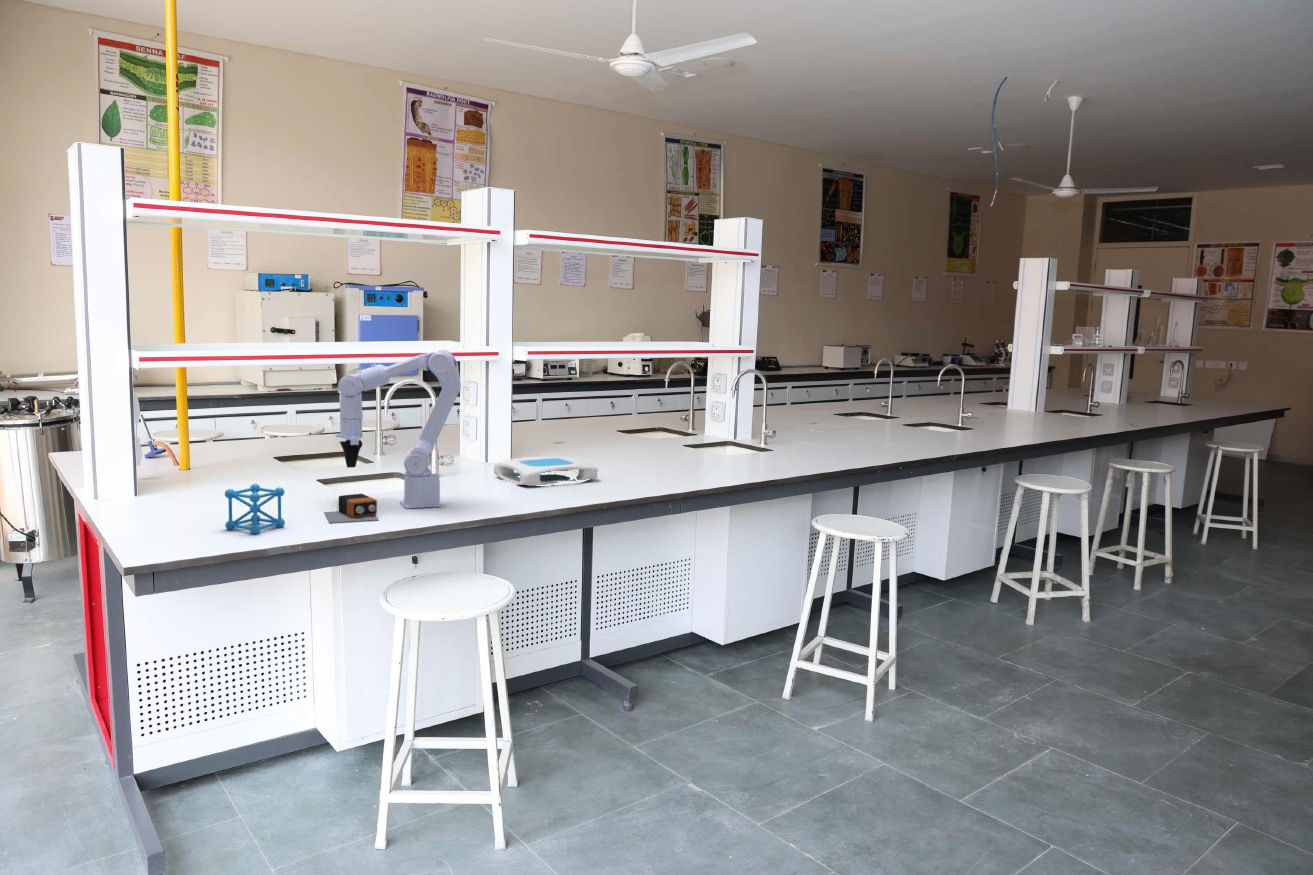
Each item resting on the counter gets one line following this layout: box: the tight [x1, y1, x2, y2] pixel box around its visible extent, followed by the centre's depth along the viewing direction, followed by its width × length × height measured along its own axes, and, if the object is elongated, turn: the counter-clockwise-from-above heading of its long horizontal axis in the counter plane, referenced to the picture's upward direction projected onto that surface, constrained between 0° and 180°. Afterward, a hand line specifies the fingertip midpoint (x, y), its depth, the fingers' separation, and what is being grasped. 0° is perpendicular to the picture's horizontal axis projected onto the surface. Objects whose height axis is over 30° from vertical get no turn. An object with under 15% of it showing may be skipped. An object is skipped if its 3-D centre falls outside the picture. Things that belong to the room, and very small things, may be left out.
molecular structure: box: [224, 483, 286, 535], centre depth 213 cm, size 10×10×10 cm
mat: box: [323, 510, 379, 524], centre depth 229 cm, size 12×12×1 cm
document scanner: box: [493, 455, 599, 487], centre depth 293 cm, size 21×28×6 cm
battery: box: [338, 493, 378, 518], centre depth 231 cm, size 4×7×10 cm
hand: (351, 467), depth 243 cm, fingers closed
